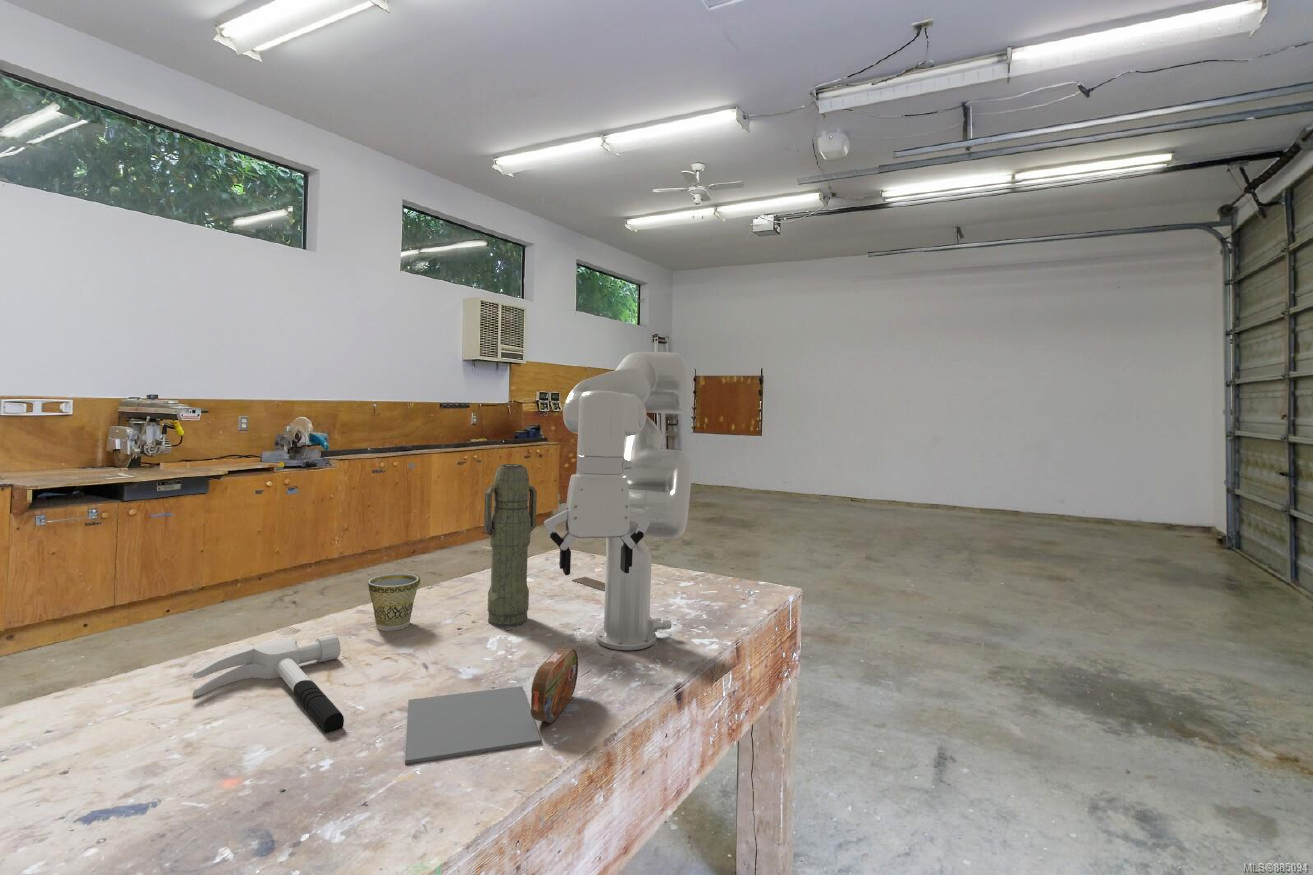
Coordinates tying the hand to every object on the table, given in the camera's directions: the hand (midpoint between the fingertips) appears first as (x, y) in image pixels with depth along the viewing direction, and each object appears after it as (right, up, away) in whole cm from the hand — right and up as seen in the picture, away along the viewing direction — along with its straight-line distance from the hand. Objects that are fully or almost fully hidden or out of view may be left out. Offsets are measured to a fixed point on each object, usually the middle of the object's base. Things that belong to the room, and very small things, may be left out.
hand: (595, 572), depth 100 cm
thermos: (-23, -19, +38) cm, 49 cm away
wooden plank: (-6, -19, +68) cm, 71 cm away
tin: (-7, -21, -2) cm, 23 cm away
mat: (-18, -21, -7) cm, 29 cm away
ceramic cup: (-46, -19, +34) cm, 60 cm away
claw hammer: (-49, -21, -2) cm, 53 cm away
